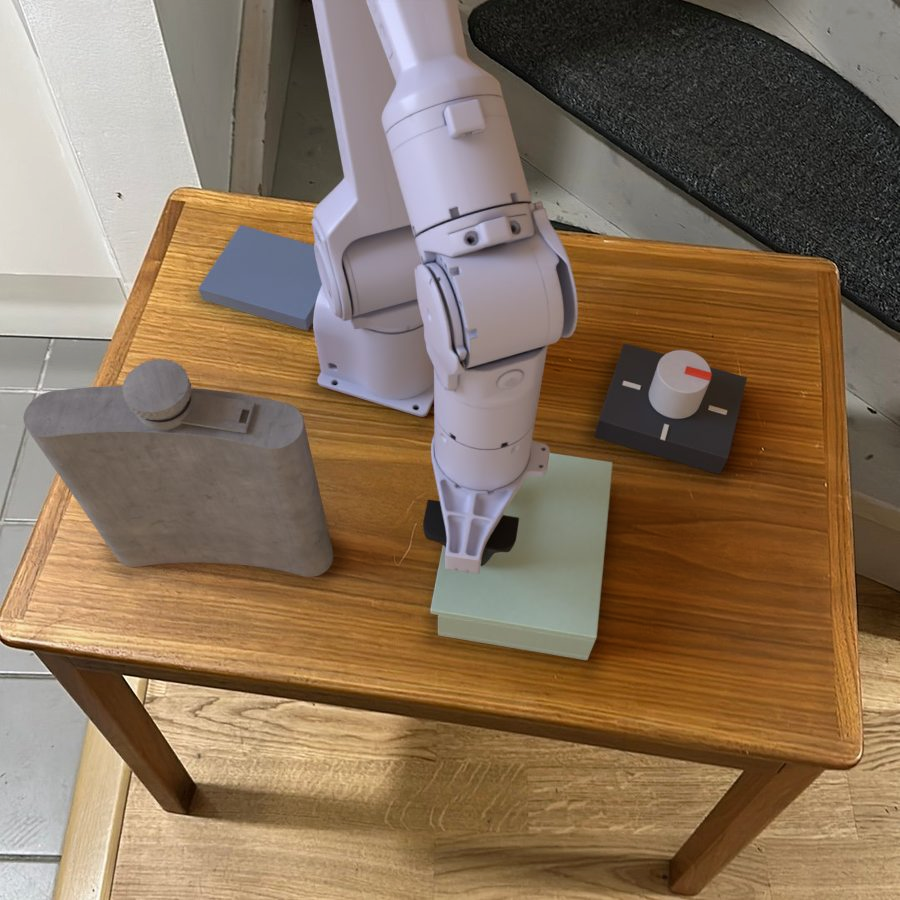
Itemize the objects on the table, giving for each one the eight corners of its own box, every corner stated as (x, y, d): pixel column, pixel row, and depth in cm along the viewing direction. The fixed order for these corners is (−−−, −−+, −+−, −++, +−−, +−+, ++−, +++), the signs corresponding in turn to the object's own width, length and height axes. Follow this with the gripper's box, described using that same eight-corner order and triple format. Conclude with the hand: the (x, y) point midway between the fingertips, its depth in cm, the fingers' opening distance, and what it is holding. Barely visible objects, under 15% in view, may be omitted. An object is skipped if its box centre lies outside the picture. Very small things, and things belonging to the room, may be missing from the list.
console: (593, 438, 73) (598, 419, 70) (619, 360, 77) (624, 340, 74) (719, 476, 71) (728, 458, 69) (738, 394, 75) (748, 374, 73)
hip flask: (110, 566, 66) (-3, 410, 49) (124, 516, 69) (20, 349, 52) (330, 578, 66) (293, 425, 49) (337, 527, 68) (304, 364, 51)
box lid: (430, 614, 61) (429, 588, 57) (462, 444, 68) (464, 411, 64) (595, 641, 60) (605, 616, 56) (611, 466, 67) (621, 434, 63)
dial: (643, 410, 71) (652, 381, 68) (654, 371, 73) (665, 341, 70) (694, 425, 70) (706, 396, 67) (704, 385, 72) (717, 355, 69)
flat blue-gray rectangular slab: (201, 300, 80) (197, 288, 78) (243, 236, 84) (240, 224, 82) (307, 331, 78) (305, 319, 77) (345, 265, 82) (343, 253, 81)
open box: (437, 635, 64) (437, 615, 61) (468, 471, 71) (469, 445, 68) (587, 660, 63) (595, 641, 60) (603, 492, 70) (611, 467, 67)
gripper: (541, 533, 47) (521, 629, 59) (570, 317, 55) (547, 439, 66) (406, 512, 48) (412, 611, 59) (453, 300, 55) (450, 425, 67)
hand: (476, 519), depth 63 cm, fingers closed on box lid, 5 cm apart
